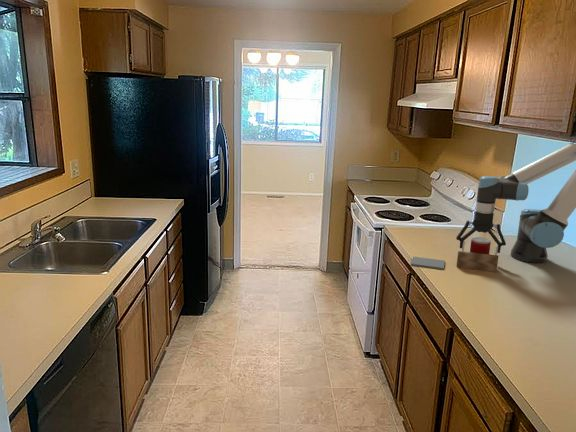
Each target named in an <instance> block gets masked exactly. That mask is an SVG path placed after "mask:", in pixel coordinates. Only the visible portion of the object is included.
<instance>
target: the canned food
mask: <svg viewBox="0 0 576 432" xmlns="http://www.w3.org/2000/svg"><path fill="white" fill-rule="evenodd" d="M491 241H492V240H491V239H489V238H487V237H477V236H476V237H472V238H471V240H470V246H469V247H470V248H469V252H472V253H481V254H489V255H490V251H491V244H492V242H491Z"/></svg>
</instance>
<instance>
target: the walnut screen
mask: <svg viewBox="0 0 576 432" xmlns="http://www.w3.org/2000/svg"><path fill="white" fill-rule="evenodd" d="M498 263H499V255H498V254H497V255H494V254H490V253H489V254H481V253H472V252H470V251H465V250H464V251H462V250H457V258H456V268H463V269H470V270H476V269H477V270H478V271H485V272H492V273H497V270H498V265H499V264H498Z"/></svg>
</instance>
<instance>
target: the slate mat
mask: <svg viewBox="0 0 576 432" xmlns="http://www.w3.org/2000/svg"><path fill="white" fill-rule="evenodd" d="M445 263H446V260H442V259H438V258H437V259H435V258H428V257H418V256H413V257H412V260H411V261H410V266H414V267H421V268H429V269H437V270H444V269H445Z"/></svg>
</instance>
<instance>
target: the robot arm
mask: <svg viewBox="0 0 576 432" xmlns="http://www.w3.org/2000/svg"><path fill="white" fill-rule="evenodd" d="M574 162H576V144H574V143H569V142H568V144H566V145H565V146H563V147H560V148H559V149H557V150H555V151H553V152H551V153H549V154H547V155H545V156H544V157H541V158H539V159H537V160H536V161H533V162H531V163H529V164H527V165H525V166H523V167H522V168H519V169H517V170H515V171H513V172H511V173H510V174H508V175H505V176H504V175H503V176H499V177H497V176H491V175H482V176H481V177H479V180H478V185H477V193H476V194H477V197H476V202H475V212H474V217H473V221H472V220H469V219H466V221H465V224H464V226H463V228H462V229H461V230H460V232H459V233H458V234H457V235H456V240H457V241H459V249H461V251H464V252H465V245H466V240H467V239H468V238H469V237H470V236H471V235H473V234H474V233H475V232H478V233H483V234H484V233H485V234H486V233H488V234H489V236H491V238H492V239H493V240H494V243H496V244H495V246H494V247H495V249H494V254H493V255H497V256H498V254H500V253H501V248H502V246H506V245H507V243H506V241H505V238H504V235H503V233H502V231H501V225H500V223H499V222H498V223H494V222H493V221H494V215H495V214H494V212H495V208H496V201H497V200H507V201H508V200H510V201H516V202H517V201H518V202H519V201H525V200H527V199H528V197H529V192H530V191H529V185H528V184H531V183H532V182H534V181H537V180H539V179H541V178H544V177H545V176H547V175H549V174H551V173H553V172H555V171H557V170H559V169H562V168H563V167H565V166H567V165H570V164H571V163H574ZM575 210H576V169H575V170H574V172H572V174H571V175H570V177H569V178H568V179H567V181H566V182H565V184H564V185H563V187H562V188H561V189H560V190H559V192H558V193H557V195H556V196H555V198H553V200H552V201H551V203H550V204H549V206H547V208H544V209H536V208H535V209H534V208H533V209H532V208H524V209H522V210H520V215H519V221H518V222H519V223H518V230H517V237H516V241H515V243H514V245H513V246H512V249H511V251H510V257H512V258H513V259H515V260H517V261H522V262H526V263H532V264H533V263H534V264H541V263H546V262H548V257H549V256H548V250H547V249H550V248H554V247H556V246H558V245H560V243H561V242H562V241H563V239H564V237H565V232H564V231H565V229H566V228H568V225H569V221H568V219H569V217H570V216H571V215H572V214H573V212H575ZM471 225H472V226H473V227H472V228H471V229H470V230H469V231H468V232H467V233H465V232H466V231H467V229H468V227H471ZM493 228H494V229H496V230H497V231H496V232H497V233H498V236H499V239H500V240H499V239H498V237H497V236H496V234H494V232H493V231H492V229H493ZM464 233H465V234H464Z"/></svg>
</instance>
